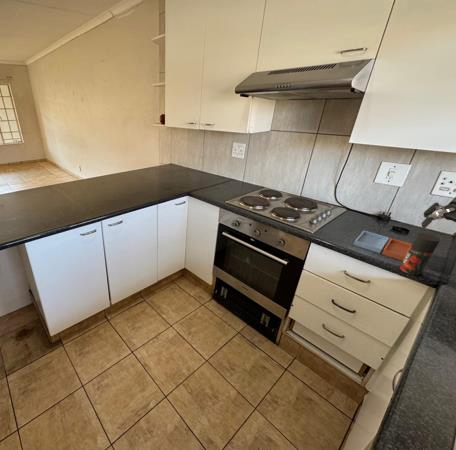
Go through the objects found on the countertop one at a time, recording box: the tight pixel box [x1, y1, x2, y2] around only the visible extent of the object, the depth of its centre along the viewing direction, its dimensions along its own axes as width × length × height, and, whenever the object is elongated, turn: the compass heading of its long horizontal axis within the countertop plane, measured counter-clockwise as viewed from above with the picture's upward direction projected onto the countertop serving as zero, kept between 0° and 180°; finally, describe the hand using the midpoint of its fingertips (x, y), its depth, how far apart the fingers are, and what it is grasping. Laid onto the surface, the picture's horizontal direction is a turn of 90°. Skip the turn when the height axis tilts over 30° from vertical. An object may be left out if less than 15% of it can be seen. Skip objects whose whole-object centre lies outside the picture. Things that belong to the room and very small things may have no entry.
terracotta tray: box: [381, 237, 412, 262], centre depth 107 cm, size 10×15×2 cm, turn 130°
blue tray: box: [352, 230, 390, 254], centre depth 114 cm, size 10×15×2 cm, turn 130°
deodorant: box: [399, 232, 441, 276], centre depth 92 cm, size 6×6×15 cm
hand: (437, 231), depth 90 cm, fingers open, 8 cm apart
